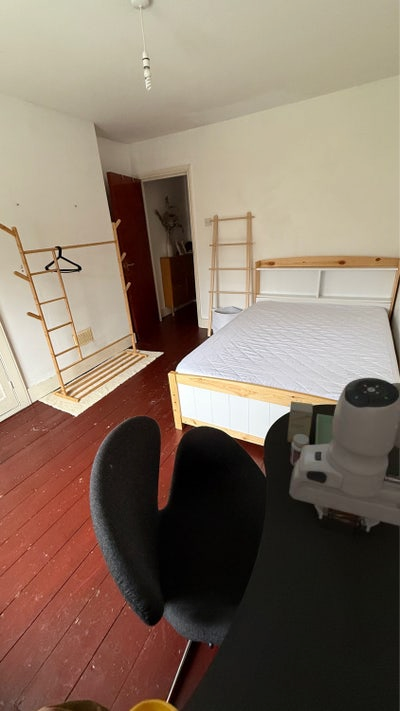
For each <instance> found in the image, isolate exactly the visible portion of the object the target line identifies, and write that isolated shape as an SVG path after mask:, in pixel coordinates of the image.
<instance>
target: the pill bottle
mask: <svg viewBox="0 0 400 711" xmlns="http://www.w3.org/2000/svg"><path fill="white" fill-rule="evenodd" d="M305 445H310V437H309V438H308V437H307V436H306V435H304V434H296V435H295V436H294V437H293V442H291V444H290V456H289V457H290V458H289V459H290V460H289V461H290V464H291V465H292V466H294V465H295V463H296V461H297V460H298V459H299V458H300V454H301V450H302V448H303V446H305Z"/></svg>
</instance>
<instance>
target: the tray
mask: <svg viewBox="0 0 400 711" xmlns="http://www.w3.org/2000/svg"><path fill="white" fill-rule="evenodd" d="M333 417H334V415H326V414H321V413H316V419H315V434H314V435H315V436H314V445H321V444H329V443H330V442H331V440H332V439H333V435H332V423H333Z"/></svg>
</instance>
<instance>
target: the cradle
mask: <svg viewBox="0 0 400 711" xmlns="http://www.w3.org/2000/svg"><path fill="white" fill-rule="evenodd" d="M319 528H320V529H324V530H328V531H331V532H334V533H339V534H342V535H346V536H350V537H352V536H353V533H354V529H355V527H353V526H349V525H346V524H342V523H338V522H334V521H331V520H329V519H328V518H327V520H323V519H319Z"/></svg>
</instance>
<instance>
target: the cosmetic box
mask: <svg viewBox="0 0 400 711" xmlns="http://www.w3.org/2000/svg"><path fill="white" fill-rule="evenodd" d="M313 409H314V404H312V403H307V402H300V401H299V402H298V401H292V400H291V401H290V409H289V418H288V419H289V420H288V428H287V439H286V441H287V442H288V443H292V442H293V437H294V436H295V435H296V434H304V435H306V436H307V437H308V438H309V439H310V433H311V427H312V421H313V420H312V419H313V411H314V410H313Z"/></svg>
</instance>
